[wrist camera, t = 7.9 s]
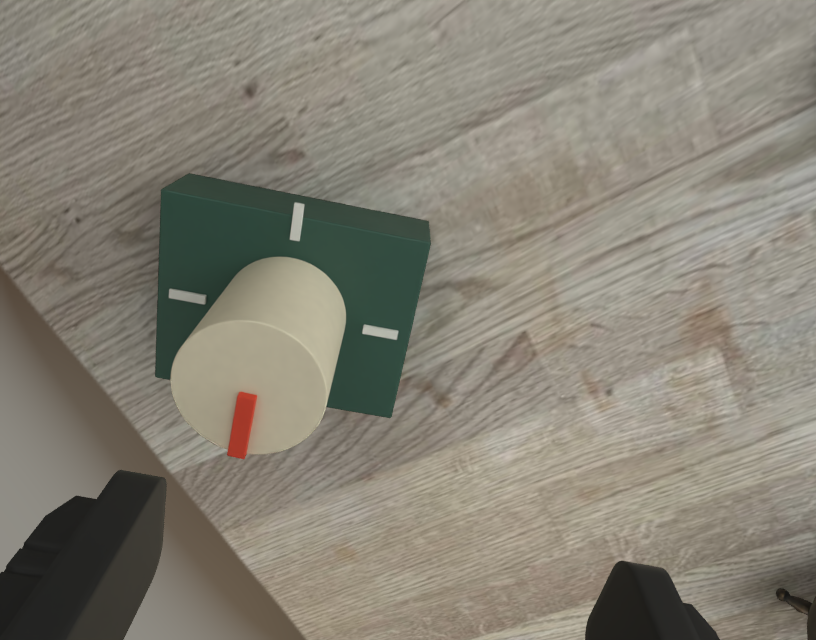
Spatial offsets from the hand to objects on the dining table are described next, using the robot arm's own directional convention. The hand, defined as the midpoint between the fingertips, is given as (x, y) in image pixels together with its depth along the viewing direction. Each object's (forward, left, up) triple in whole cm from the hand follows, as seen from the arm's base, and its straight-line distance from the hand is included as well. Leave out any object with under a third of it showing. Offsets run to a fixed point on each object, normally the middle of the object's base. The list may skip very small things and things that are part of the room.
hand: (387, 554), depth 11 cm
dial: (-4, -2, -14) cm, 15 cm away
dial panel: (-4, -2, -17) cm, 17 cm away
